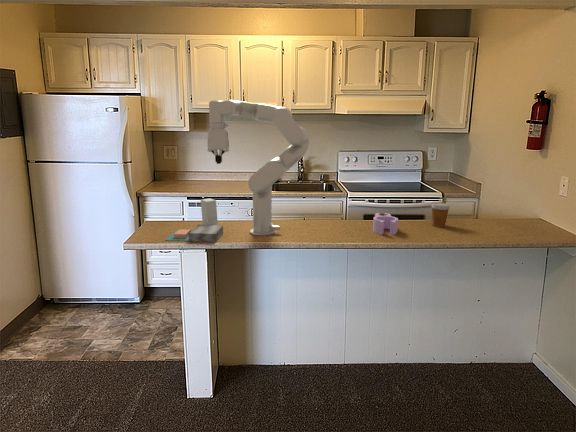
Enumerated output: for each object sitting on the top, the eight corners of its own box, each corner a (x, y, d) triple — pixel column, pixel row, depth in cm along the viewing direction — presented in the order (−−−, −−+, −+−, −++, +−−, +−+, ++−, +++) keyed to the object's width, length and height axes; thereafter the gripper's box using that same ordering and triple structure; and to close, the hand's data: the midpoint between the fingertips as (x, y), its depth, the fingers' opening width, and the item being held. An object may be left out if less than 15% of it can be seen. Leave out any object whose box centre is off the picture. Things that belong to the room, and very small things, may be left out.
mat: (197, 232, 231) (197, 231, 231) (188, 241, 216) (188, 240, 215) (175, 231, 232) (175, 231, 232) (164, 240, 216) (164, 240, 216)
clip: (369, 225, 247) (370, 212, 245) (392, 225, 246) (393, 213, 244) (375, 235, 227) (375, 221, 226) (399, 235, 227) (400, 222, 225)
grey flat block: (223, 232, 230) (223, 225, 229) (216, 241, 215) (215, 233, 214) (198, 232, 231) (198, 224, 230) (189, 241, 215) (188, 233, 215)
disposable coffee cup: (451, 226, 242) (453, 205, 239) (437, 228, 239) (439, 206, 236) (440, 222, 251) (441, 201, 248) (426, 224, 247) (427, 203, 245)
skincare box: (218, 227, 241) (217, 200, 237) (207, 229, 237) (206, 201, 234) (211, 224, 247) (210, 197, 244) (201, 225, 244) (200, 198, 241)
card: (179, 229, 228) (179, 233, 228) (173, 234, 219) (173, 238, 220) (190, 229, 227) (191, 233, 228) (185, 234, 219) (186, 238, 219)
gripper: (233, 126, 225) (234, 162, 229) (204, 126, 226) (206, 162, 230) (230, 126, 217) (232, 164, 222) (200, 126, 219) (202, 164, 223)
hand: (218, 163), depth 226 cm, fingers closed
